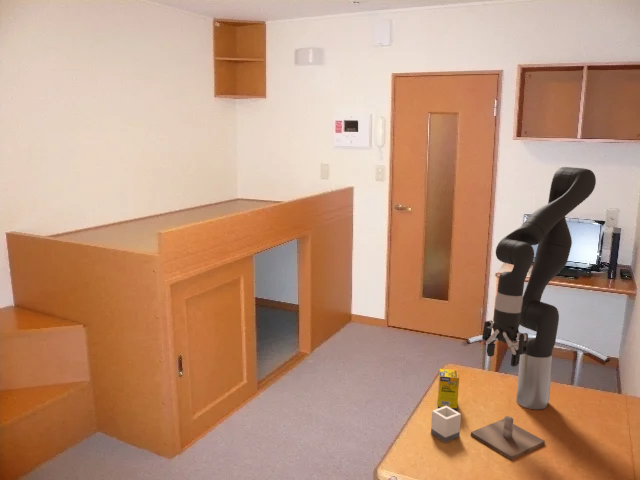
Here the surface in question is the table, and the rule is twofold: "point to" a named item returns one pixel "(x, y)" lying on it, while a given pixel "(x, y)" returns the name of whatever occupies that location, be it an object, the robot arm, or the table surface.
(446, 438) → the sleeve
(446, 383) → the supplement box
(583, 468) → the table surface
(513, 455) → the pin plate
